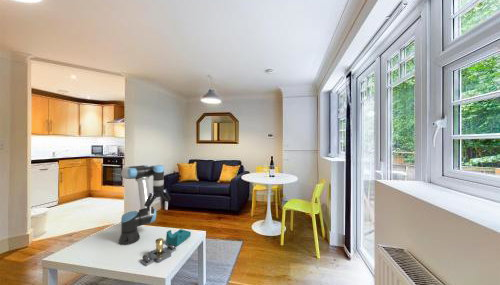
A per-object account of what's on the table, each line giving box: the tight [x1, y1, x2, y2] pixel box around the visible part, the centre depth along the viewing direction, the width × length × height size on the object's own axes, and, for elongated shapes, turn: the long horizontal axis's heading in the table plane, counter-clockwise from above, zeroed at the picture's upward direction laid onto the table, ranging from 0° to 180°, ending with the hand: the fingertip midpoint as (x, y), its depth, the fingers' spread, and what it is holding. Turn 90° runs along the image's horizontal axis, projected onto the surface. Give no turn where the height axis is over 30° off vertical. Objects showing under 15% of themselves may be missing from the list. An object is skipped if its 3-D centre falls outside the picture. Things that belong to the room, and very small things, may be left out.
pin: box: [155, 237, 164, 256], centre depth 145 cm, size 5×5×12 cm
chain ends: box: [140, 244, 177, 267], centre depth 145 cm, size 14×23×4 cm, turn 145°
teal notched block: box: [165, 228, 192, 247], centre depth 167 cm, size 18×11×10 cm, turn 161°
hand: (158, 211), depth 154 cm, fingers open, 13 cm apart
